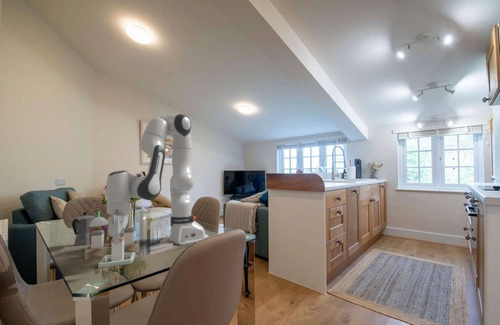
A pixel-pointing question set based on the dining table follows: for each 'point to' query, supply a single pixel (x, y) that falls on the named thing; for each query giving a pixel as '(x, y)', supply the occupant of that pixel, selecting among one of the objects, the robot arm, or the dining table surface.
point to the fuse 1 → (97, 239)
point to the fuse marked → (117, 250)
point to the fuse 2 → (129, 236)
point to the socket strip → (109, 250)
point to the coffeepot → (82, 229)
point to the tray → (116, 263)
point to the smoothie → (99, 226)
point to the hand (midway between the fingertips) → (119, 240)
